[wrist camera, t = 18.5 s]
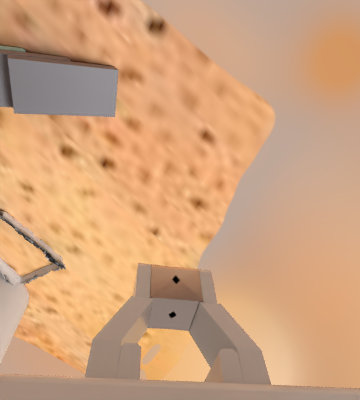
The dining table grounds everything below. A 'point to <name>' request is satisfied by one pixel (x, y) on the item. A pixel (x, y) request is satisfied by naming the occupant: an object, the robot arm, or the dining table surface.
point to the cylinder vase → (10, 311)
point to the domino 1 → (3, 95)
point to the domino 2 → (62, 87)
